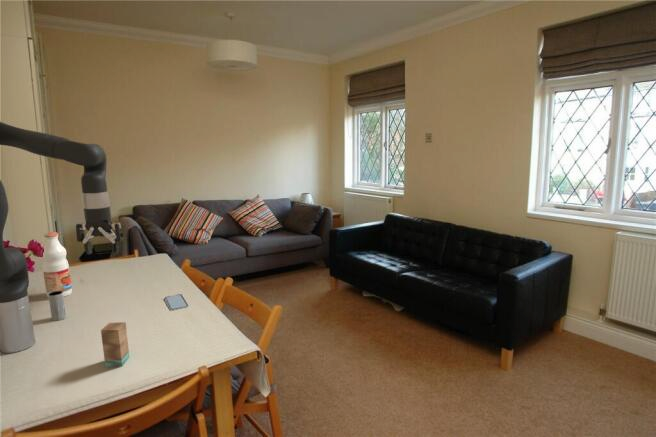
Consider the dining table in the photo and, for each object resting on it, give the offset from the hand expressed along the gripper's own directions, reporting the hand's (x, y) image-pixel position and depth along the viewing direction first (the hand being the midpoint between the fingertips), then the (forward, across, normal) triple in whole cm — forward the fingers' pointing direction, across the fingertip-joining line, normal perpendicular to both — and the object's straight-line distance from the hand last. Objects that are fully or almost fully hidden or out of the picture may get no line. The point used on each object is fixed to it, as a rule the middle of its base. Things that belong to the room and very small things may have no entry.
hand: (102, 253), depth 133 cm
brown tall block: (+18, -10, +16) cm, 26 cm away
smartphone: (+31, -12, -29) cm, 44 cm away
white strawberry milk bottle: (+30, +43, -39) cm, 65 cm away
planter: (+30, +28, -15) cm, 44 cm away
